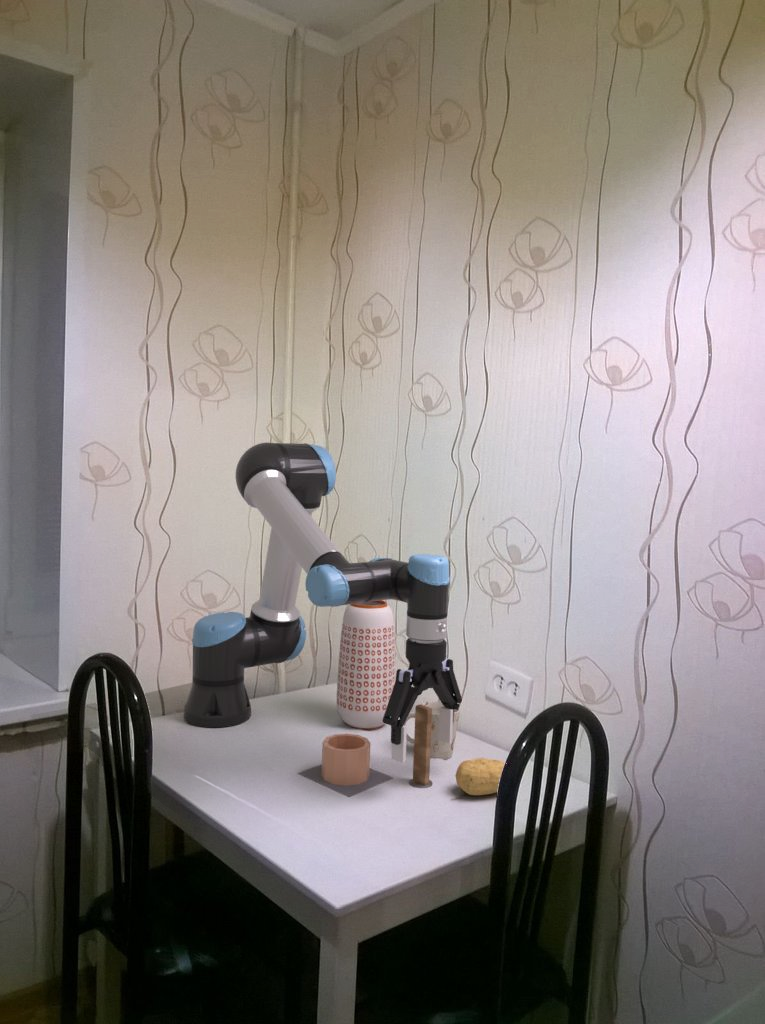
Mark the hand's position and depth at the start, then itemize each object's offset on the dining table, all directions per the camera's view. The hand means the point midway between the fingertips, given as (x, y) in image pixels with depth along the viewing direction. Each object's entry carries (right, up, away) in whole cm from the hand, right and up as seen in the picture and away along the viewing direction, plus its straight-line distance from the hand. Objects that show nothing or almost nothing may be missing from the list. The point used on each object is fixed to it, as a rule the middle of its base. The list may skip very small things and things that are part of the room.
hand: (422, 750), depth 145 cm
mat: (-15, -6, +3) cm, 16 cm away
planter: (-12, -4, +33) cm, 35 cm away
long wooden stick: (0, -7, +1) cm, 7 cm away
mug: (+2, -6, +16) cm, 17 cm away
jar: (-15, -6, +3) cm, 16 cm away
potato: (+11, -7, -2) cm, 13 cm away
